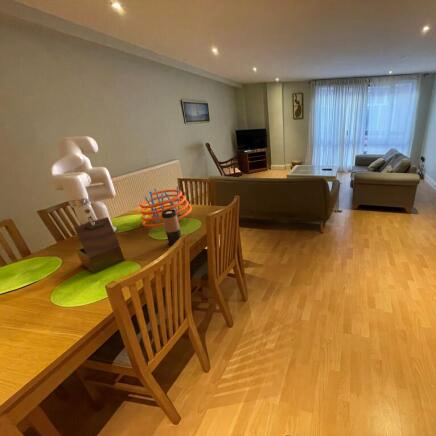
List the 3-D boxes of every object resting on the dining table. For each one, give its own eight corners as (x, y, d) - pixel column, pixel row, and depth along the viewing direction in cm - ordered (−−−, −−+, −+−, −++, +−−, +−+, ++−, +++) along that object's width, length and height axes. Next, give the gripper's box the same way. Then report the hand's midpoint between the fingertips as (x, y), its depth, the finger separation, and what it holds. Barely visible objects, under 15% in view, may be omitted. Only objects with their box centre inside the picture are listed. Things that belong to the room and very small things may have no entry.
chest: (82, 264, 124) (76, 250, 120) (111, 253, 134) (106, 239, 131) (94, 273, 117) (88, 258, 113) (124, 260, 127) (119, 245, 124)
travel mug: (185, 240, 147) (178, 210, 139) (176, 246, 140) (168, 214, 132) (175, 238, 149) (168, 208, 141) (165, 244, 143) (158, 213, 135)
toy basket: (161, 235, 156) (147, 201, 146) (134, 227, 175) (120, 197, 165) (203, 214, 182) (194, 184, 172) (176, 209, 200) (166, 181, 190)
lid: (73, 227, 109) (77, 227, 106) (107, 217, 120) (111, 217, 116) (87, 257, 113) (92, 258, 110) (119, 245, 124) (123, 245, 121)
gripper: (97, 202, 112) (109, 237, 119) (82, 197, 120) (94, 230, 127) (77, 207, 106) (91, 243, 113) (63, 201, 114) (77, 235, 121)
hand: (93, 236), depth 120 cm, fingers closed on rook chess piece, 3 cm apart
